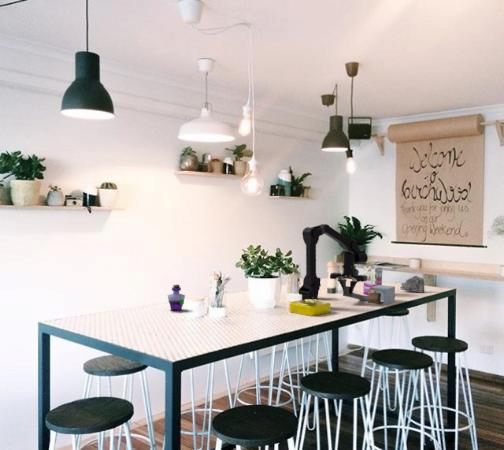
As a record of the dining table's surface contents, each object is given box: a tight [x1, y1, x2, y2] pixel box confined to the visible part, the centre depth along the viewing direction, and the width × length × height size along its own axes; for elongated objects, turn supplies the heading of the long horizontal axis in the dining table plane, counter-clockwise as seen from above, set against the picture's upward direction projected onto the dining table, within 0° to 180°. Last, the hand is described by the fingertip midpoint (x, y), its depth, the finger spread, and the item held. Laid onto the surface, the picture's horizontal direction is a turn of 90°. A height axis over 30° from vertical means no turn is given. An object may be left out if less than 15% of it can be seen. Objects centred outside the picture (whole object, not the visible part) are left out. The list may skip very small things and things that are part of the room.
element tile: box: [288, 299, 331, 317], centre depth 248 cm, size 15×15×5 cm
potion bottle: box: [167, 284, 186, 312], centre depth 248 cm, size 9×9×12 cm
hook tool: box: [342, 285, 368, 302], centre depth 277 cm, size 21×6×5 cm, turn 146°
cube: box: [367, 293, 382, 305], centre depth 278 cm, size 5×5×5 cm
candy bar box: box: [363, 265, 383, 296], centre depth 304 cm, size 11×5×16 cm, turn 25°
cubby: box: [369, 284, 396, 306], centre depth 280 cm, size 14×9×8 cm, turn 146°
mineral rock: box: [399, 275, 425, 294], centre depth 319 cm, size 13×11×10 cm
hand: (348, 293), depth 272 cm, fingers closed on hook tool, 3 cm apart
